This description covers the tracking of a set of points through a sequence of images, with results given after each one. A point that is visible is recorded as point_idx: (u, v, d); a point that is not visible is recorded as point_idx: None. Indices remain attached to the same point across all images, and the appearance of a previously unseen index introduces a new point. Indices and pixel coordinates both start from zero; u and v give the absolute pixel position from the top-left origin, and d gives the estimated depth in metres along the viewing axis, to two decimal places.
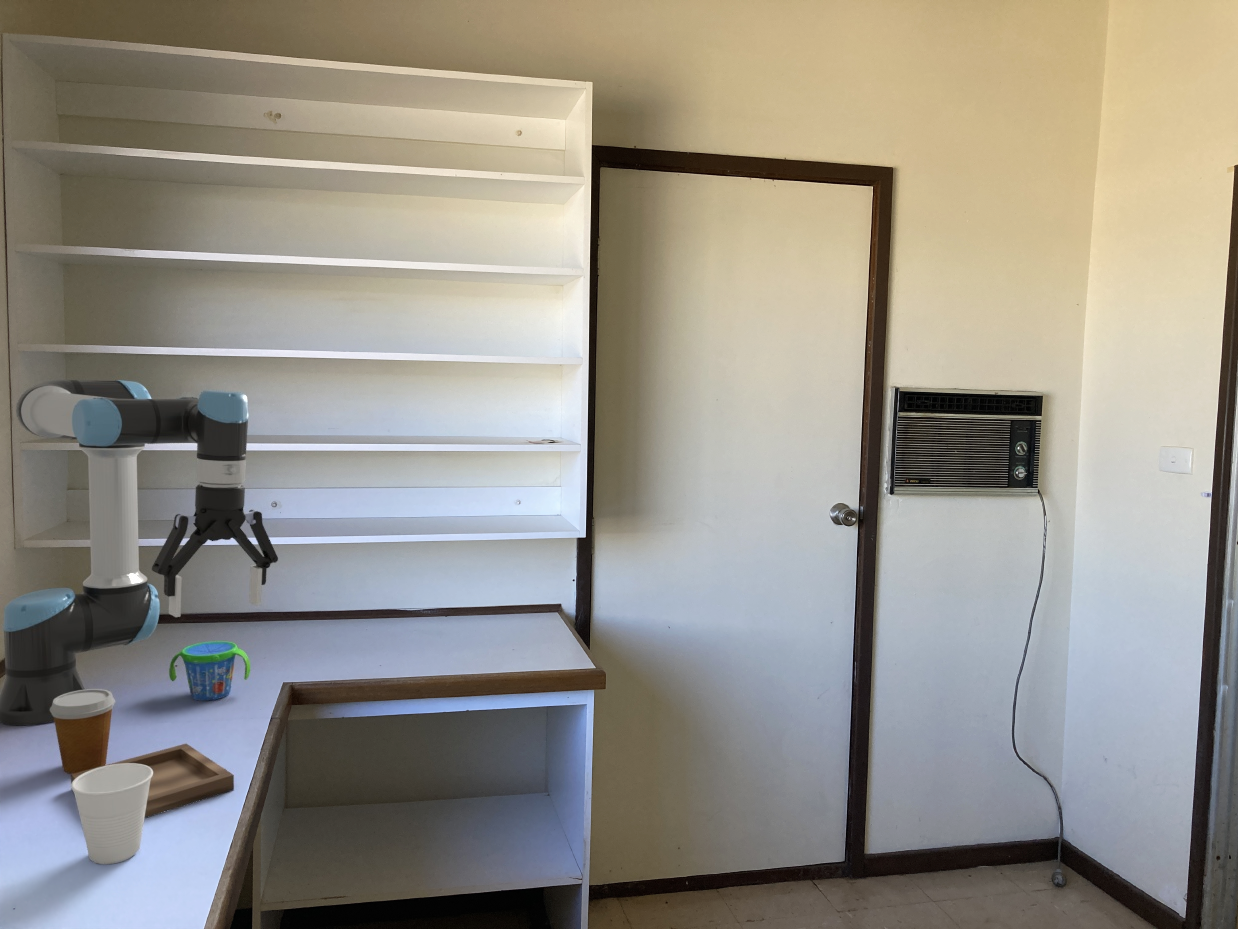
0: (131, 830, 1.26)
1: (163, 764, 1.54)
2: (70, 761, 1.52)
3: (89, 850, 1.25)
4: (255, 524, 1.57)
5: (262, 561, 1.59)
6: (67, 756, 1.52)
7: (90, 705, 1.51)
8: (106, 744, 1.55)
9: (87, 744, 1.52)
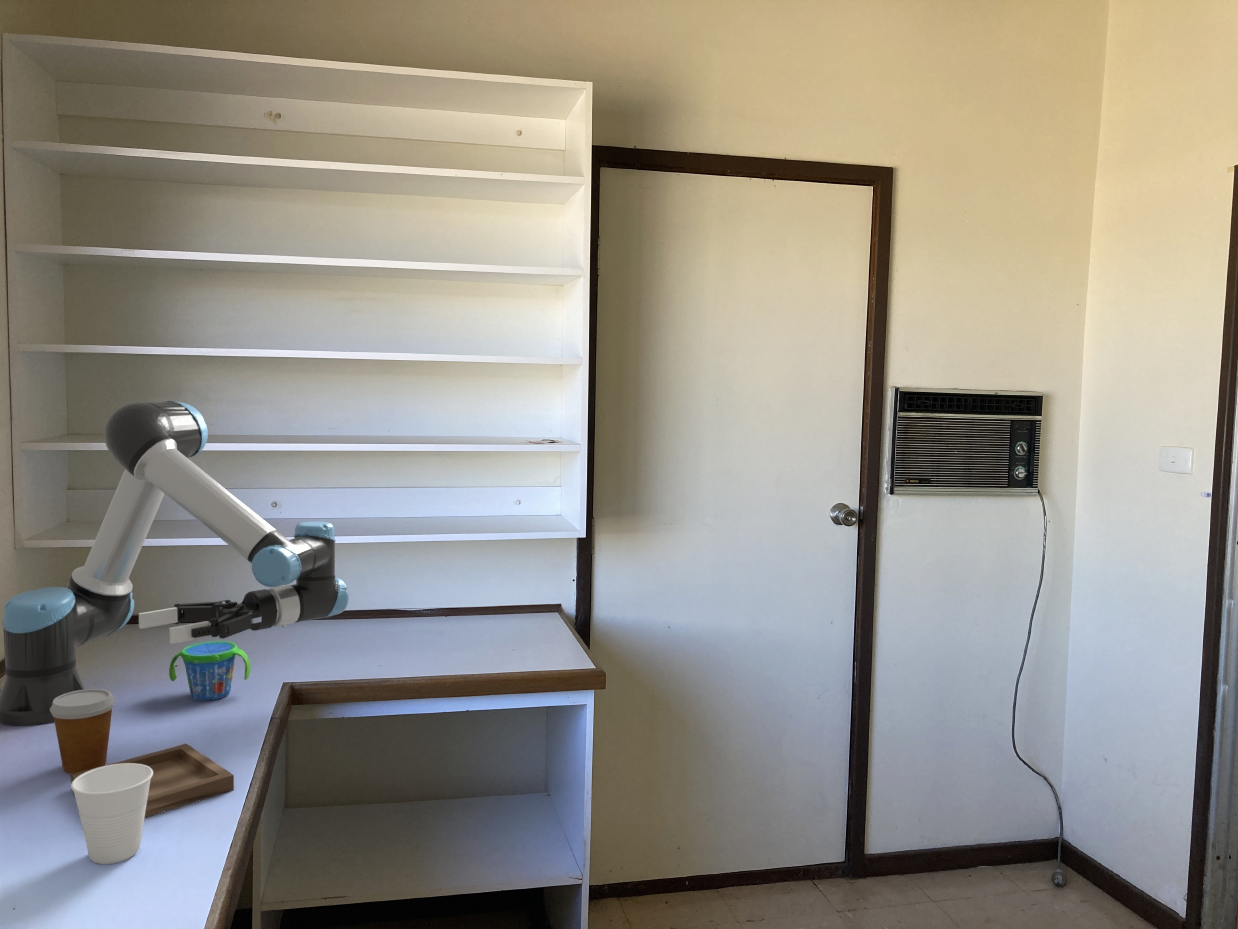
0: (131, 830, 1.25)
1: (163, 764, 1.54)
2: (70, 761, 1.52)
3: (89, 850, 1.25)
4: None
5: (182, 619, 1.73)
6: (67, 756, 1.52)
7: (90, 705, 1.51)
8: (106, 744, 1.55)
9: (88, 744, 1.52)
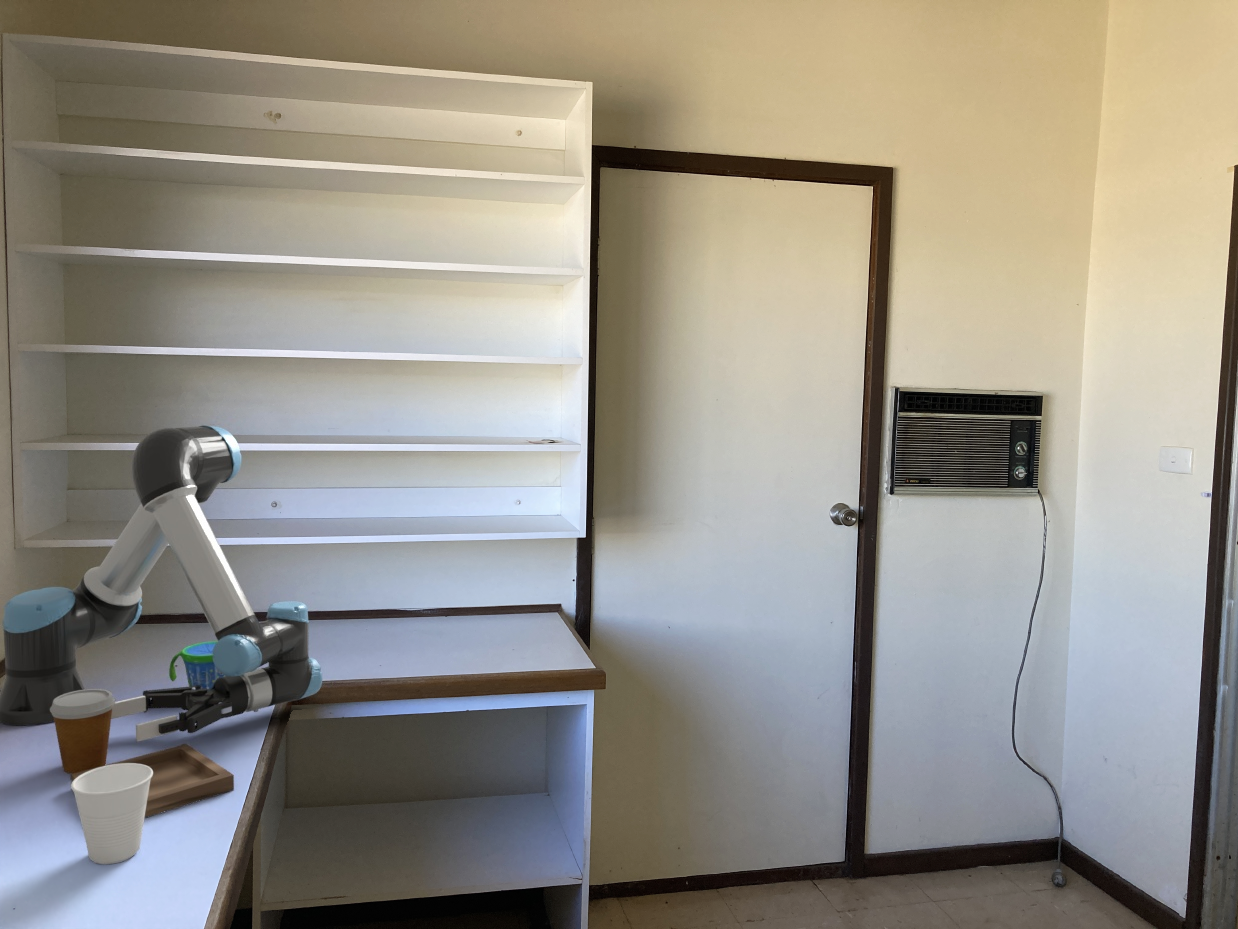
0: (131, 830, 1.25)
1: (163, 764, 1.54)
2: (70, 761, 1.52)
3: (89, 850, 1.25)
4: None
5: None
6: (67, 756, 1.52)
7: (90, 705, 1.51)
8: (106, 744, 1.55)
9: (88, 744, 1.52)
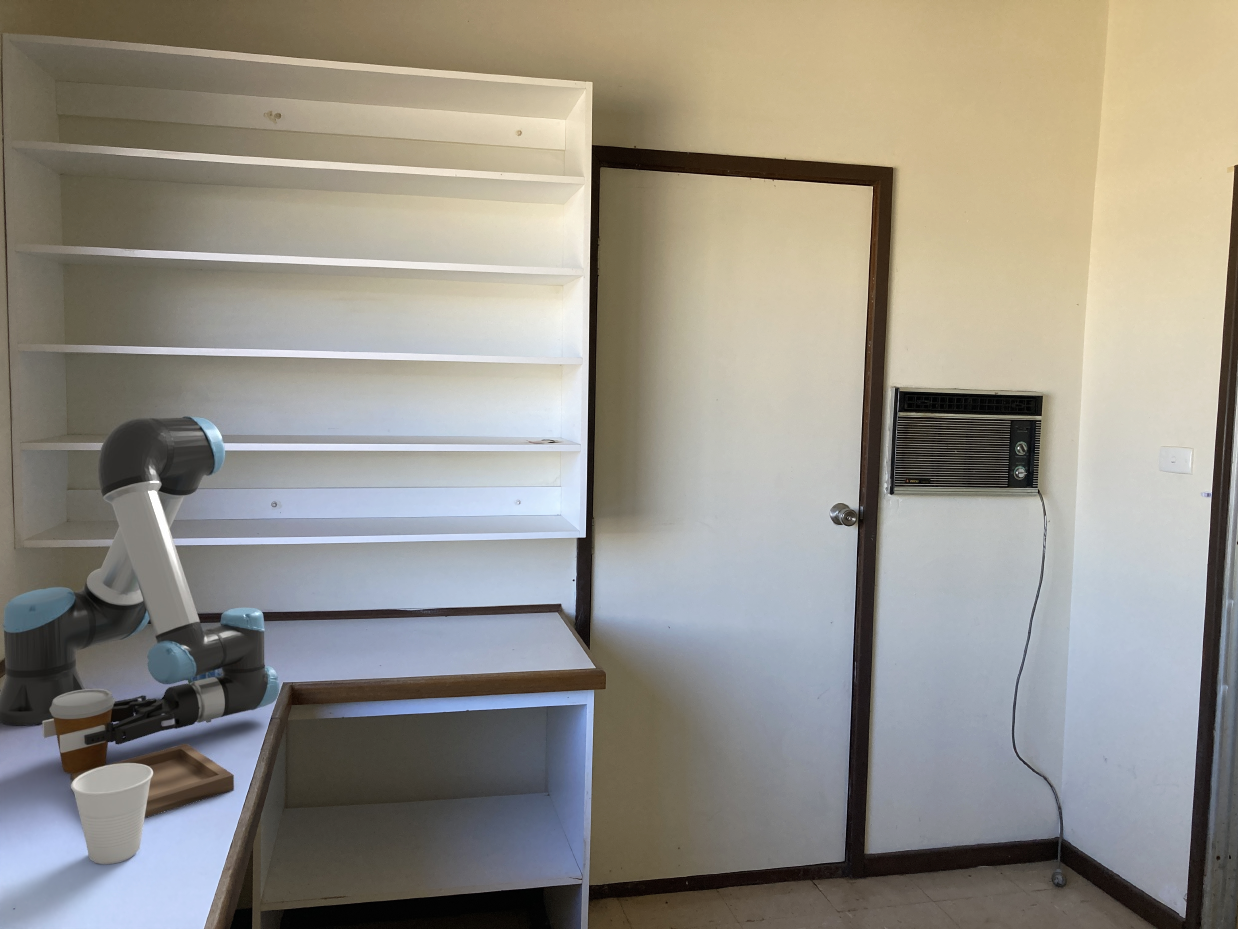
0: (131, 830, 1.25)
1: (163, 764, 1.54)
2: (70, 761, 1.52)
3: (89, 850, 1.25)
4: None
5: None
6: (67, 756, 1.52)
7: (90, 705, 1.51)
8: (106, 744, 1.55)
9: None
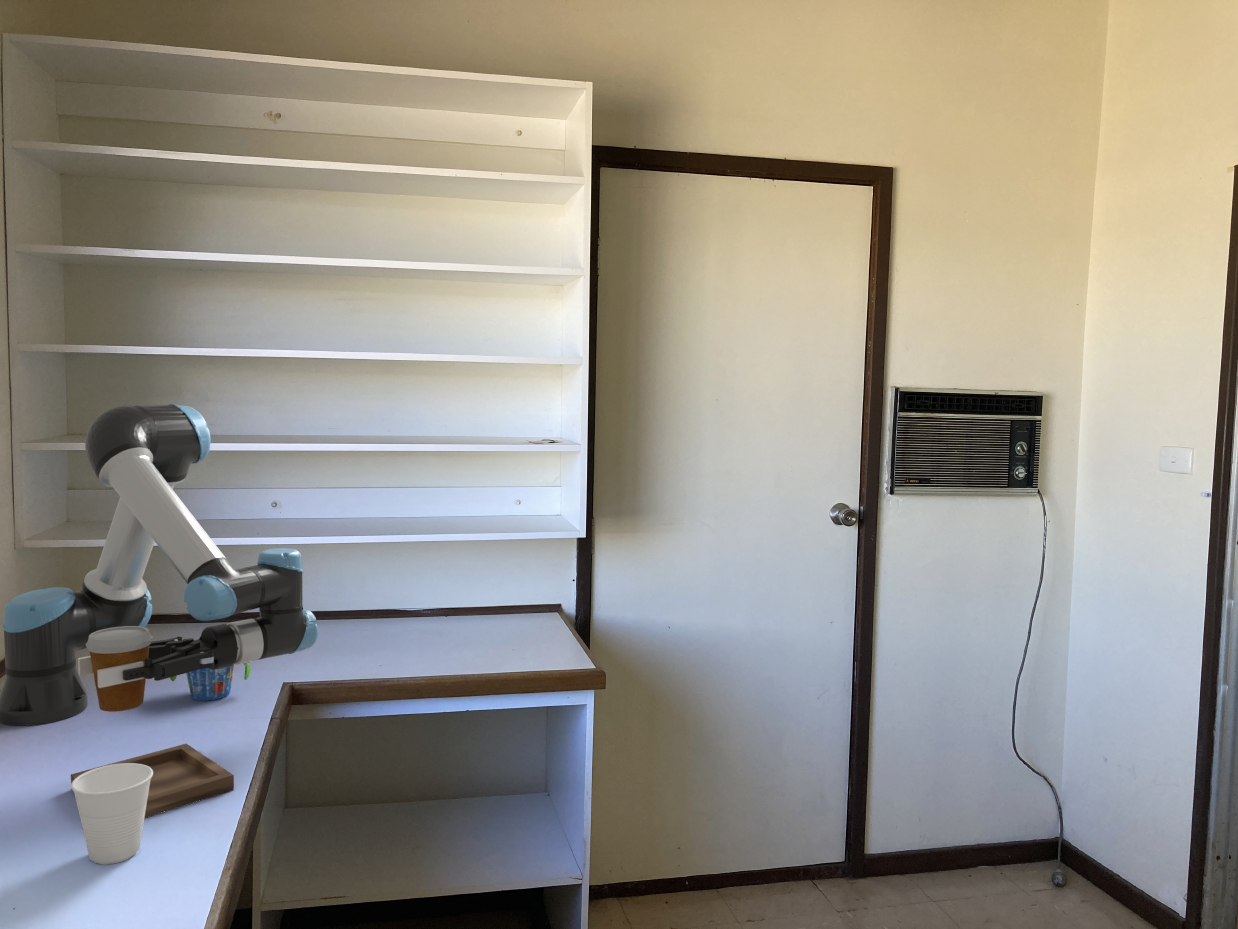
0: (131, 830, 1.25)
1: (163, 764, 1.54)
2: (107, 698, 1.46)
3: (89, 850, 1.25)
4: (172, 652, 1.60)
5: None
6: (104, 693, 1.46)
7: (128, 639, 1.46)
8: (143, 682, 1.50)
9: None
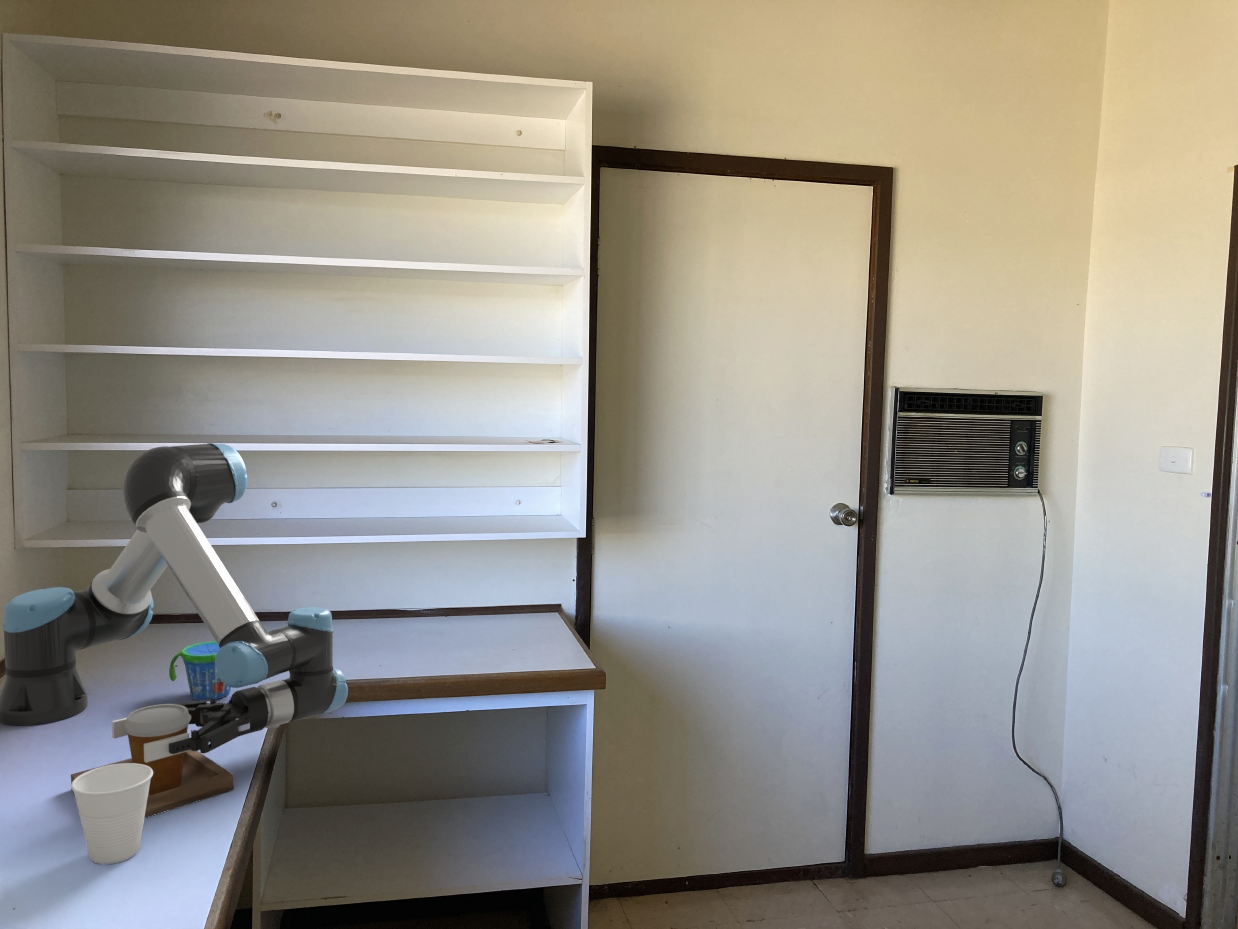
0: (131, 830, 1.26)
1: None
2: None
3: (89, 850, 1.25)
4: None
5: None
6: None
7: (169, 721, 1.42)
8: (182, 762, 1.46)
9: (165, 763, 1.43)
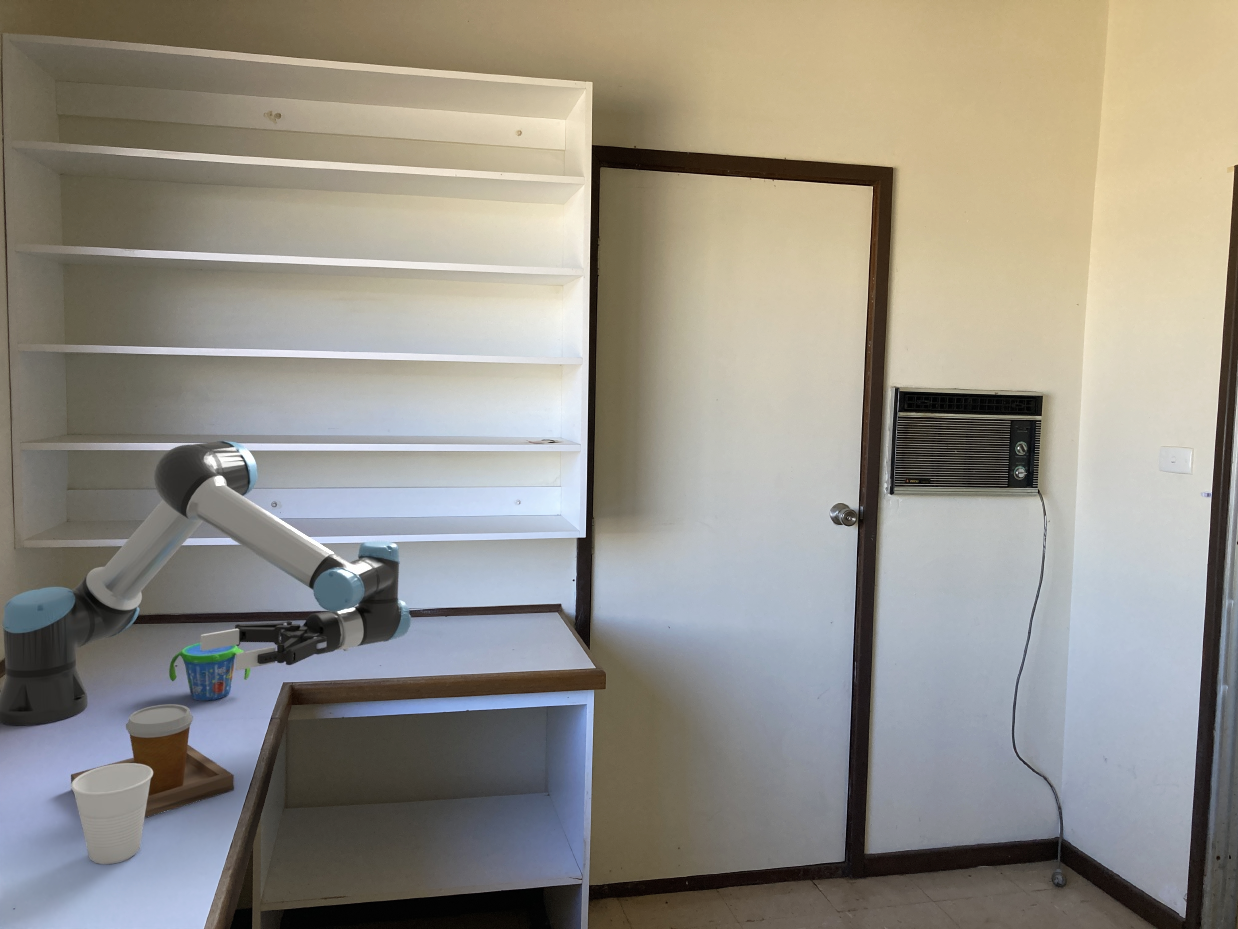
0: (131, 830, 1.25)
1: None
2: (150, 782, 1.42)
3: (89, 850, 1.25)
4: (281, 635, 1.70)
5: None
6: None
7: (172, 722, 1.42)
8: (185, 762, 1.46)
9: (169, 764, 1.43)
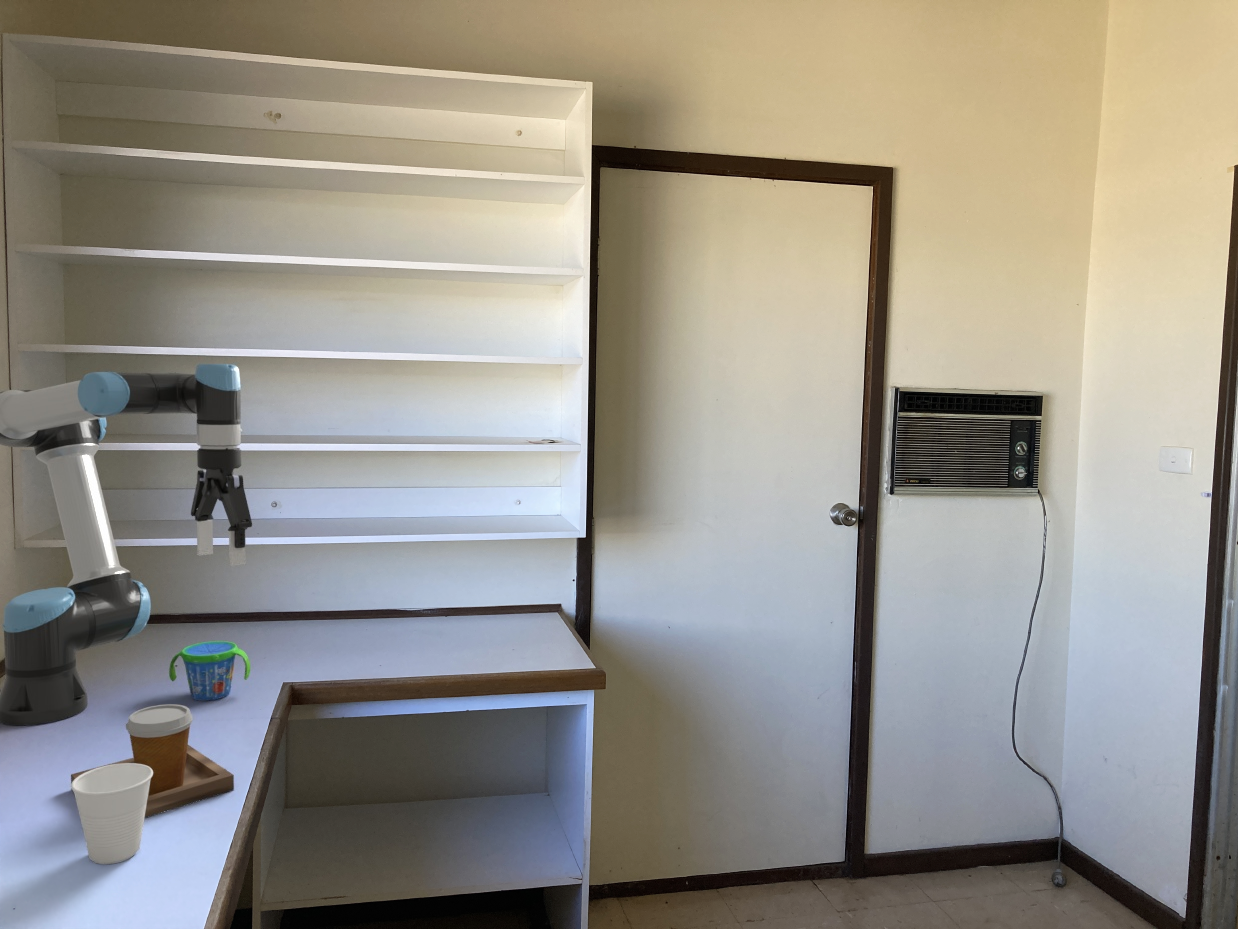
0: (131, 830, 1.25)
1: None
2: (150, 782, 1.42)
3: (89, 850, 1.25)
4: None
5: None
6: None
7: (172, 722, 1.42)
8: (185, 762, 1.46)
9: (169, 764, 1.43)
